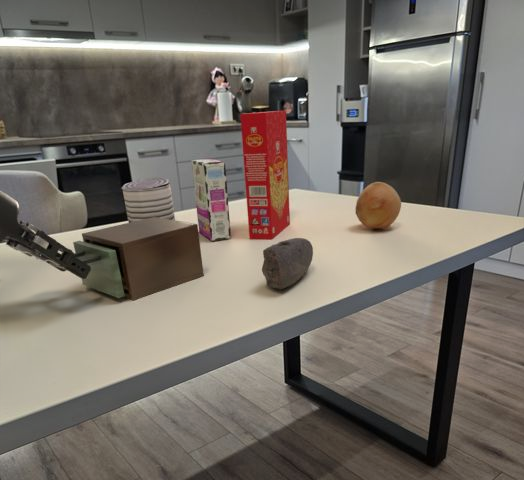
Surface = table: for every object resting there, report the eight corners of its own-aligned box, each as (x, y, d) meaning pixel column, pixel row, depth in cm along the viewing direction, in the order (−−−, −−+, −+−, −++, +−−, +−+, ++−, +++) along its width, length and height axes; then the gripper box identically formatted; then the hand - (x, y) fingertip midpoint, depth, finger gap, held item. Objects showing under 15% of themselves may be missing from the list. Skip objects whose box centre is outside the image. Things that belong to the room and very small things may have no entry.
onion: (408, 230, 105) (411, 182, 100) (365, 235, 103) (367, 187, 98) (387, 222, 113) (390, 177, 109) (348, 226, 111) (349, 181, 107)
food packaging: (272, 239, 105) (265, 112, 94) (249, 238, 107) (240, 114, 96) (289, 224, 118) (285, 110, 106) (269, 223, 119) (263, 112, 108)
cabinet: (132, 300, 76) (121, 243, 71) (93, 285, 84) (81, 233, 80) (203, 275, 85) (197, 224, 81) (162, 264, 93) (154, 216, 89)
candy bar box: (232, 238, 108) (226, 161, 100) (211, 242, 106) (203, 163, 99) (218, 229, 117) (211, 157, 110) (198, 232, 116) (189, 159, 108)
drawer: (84, 309, 71) (72, 261, 67) (50, 294, 78) (38, 250, 75) (187, 275, 83) (181, 232, 79) (149, 264, 90) (142, 225, 87)
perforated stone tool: (298, 265, 87) (296, 227, 83) (324, 269, 84) (324, 229, 81) (254, 293, 75) (251, 249, 72) (283, 297, 73) (281, 252, 70)
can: (186, 229, 119) (179, 178, 114) (149, 239, 112) (140, 186, 107) (157, 224, 126) (149, 177, 121) (121, 234, 119) (111, 183, 113)
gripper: (4, 182, 57) (112, 255, 70) (-35, 177, 66) (67, 242, 79) (-28, 236, 56) (87, 300, 69) (-63, 223, 66) (44, 282, 78)
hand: (76, 269), depth 74 cm, fingers closed on drawer, 6 cm apart
